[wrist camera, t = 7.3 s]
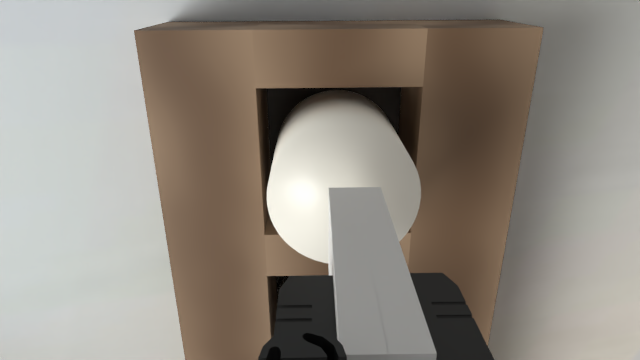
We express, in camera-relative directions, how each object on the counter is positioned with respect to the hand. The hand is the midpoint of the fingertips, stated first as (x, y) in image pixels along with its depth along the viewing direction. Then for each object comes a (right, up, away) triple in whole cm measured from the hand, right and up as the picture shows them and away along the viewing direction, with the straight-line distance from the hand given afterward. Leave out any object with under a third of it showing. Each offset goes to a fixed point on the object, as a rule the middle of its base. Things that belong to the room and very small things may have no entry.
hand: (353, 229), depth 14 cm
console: (0, -4, +11) cm, 11 cm away
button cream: (0, +3, +6) cm, 7 cm away
